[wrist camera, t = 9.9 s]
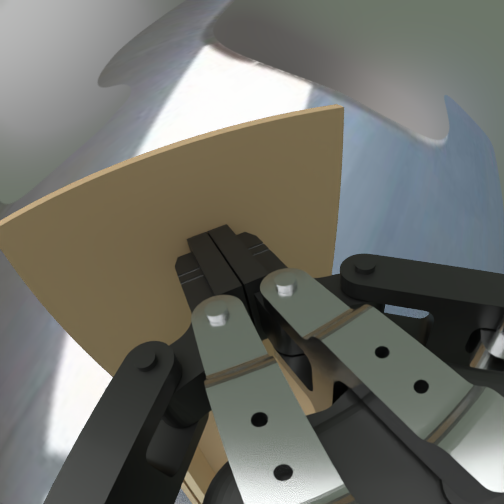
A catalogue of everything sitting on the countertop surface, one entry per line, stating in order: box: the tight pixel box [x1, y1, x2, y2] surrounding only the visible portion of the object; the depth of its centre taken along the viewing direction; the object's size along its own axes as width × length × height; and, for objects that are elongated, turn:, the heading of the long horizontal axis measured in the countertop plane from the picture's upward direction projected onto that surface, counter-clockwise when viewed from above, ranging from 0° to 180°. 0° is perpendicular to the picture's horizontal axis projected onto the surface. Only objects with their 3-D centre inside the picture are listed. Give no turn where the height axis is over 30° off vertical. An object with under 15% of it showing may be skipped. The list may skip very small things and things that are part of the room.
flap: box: [0, 104, 344, 377], centre depth 13 cm, size 12×1×15 cm
